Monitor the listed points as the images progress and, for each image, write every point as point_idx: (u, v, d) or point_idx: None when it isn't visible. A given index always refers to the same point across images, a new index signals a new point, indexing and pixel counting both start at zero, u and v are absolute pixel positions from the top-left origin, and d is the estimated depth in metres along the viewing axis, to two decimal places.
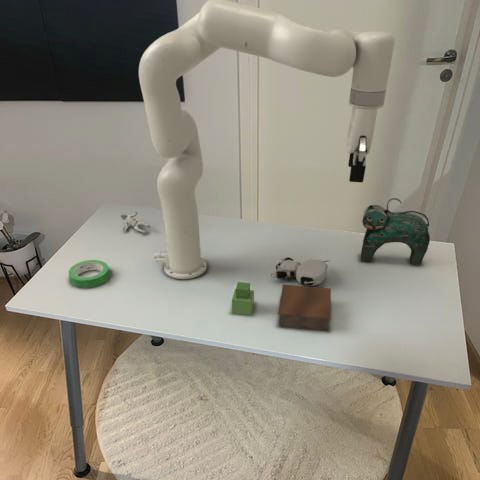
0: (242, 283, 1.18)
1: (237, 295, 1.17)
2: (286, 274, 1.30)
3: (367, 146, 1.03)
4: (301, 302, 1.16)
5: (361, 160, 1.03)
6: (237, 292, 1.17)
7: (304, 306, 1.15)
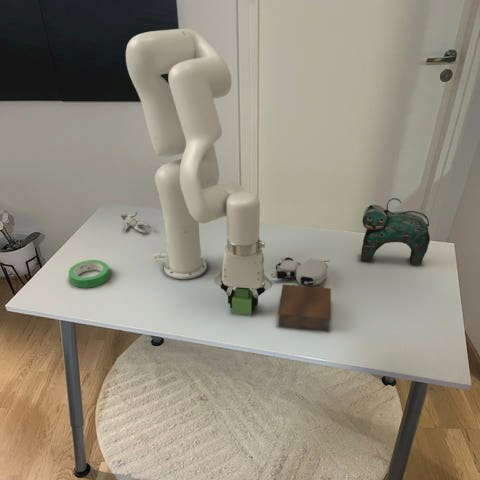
0: None
1: (237, 295, 1.17)
2: (286, 274, 1.30)
3: None
4: (301, 302, 1.16)
5: None
6: (237, 292, 1.17)
7: (304, 306, 1.15)
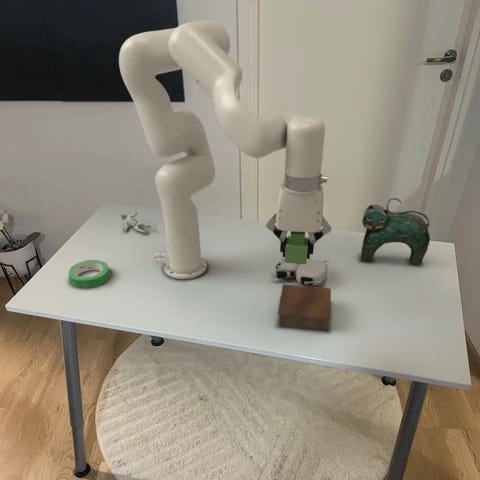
0: None
1: (291, 241, 1.05)
2: (286, 274, 1.30)
3: None
4: (301, 302, 1.16)
5: None
6: (292, 237, 1.05)
7: (304, 306, 1.15)
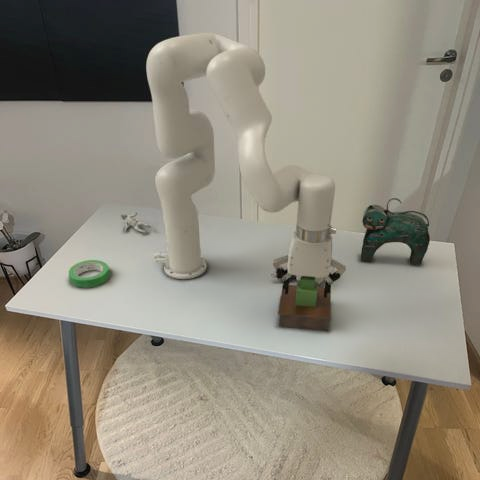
0: None
1: (302, 286, 1.12)
2: None
3: None
4: None
5: None
6: (302, 283, 1.12)
7: (304, 306, 1.15)
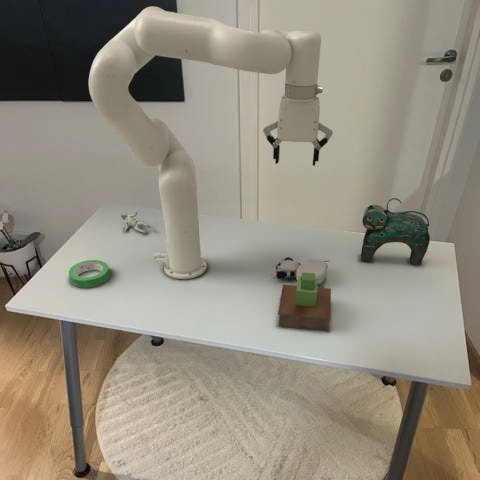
0: (307, 274, 1.13)
1: (302, 286, 1.12)
2: (286, 274, 1.30)
3: (277, 130, 1.15)
4: None
5: (267, 138, 1.18)
6: (302, 283, 1.12)
7: (304, 306, 1.15)
